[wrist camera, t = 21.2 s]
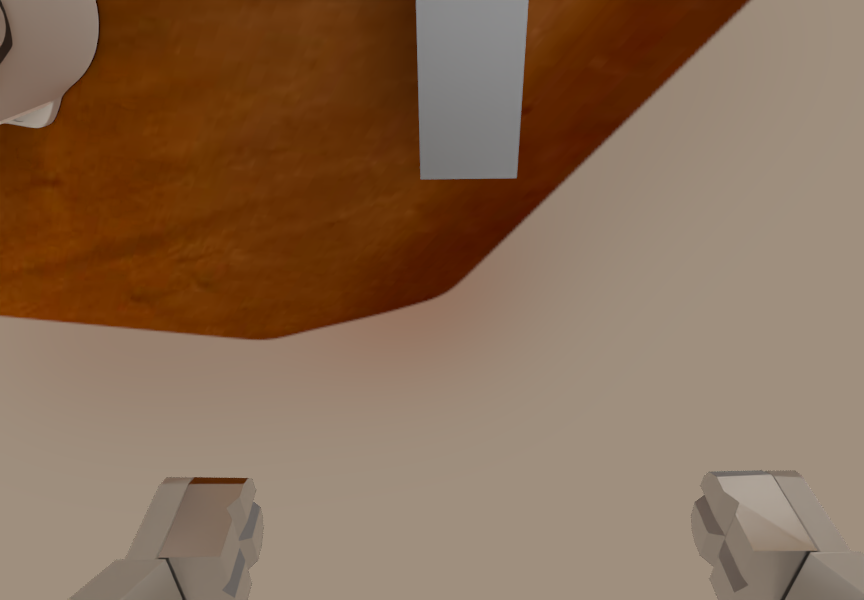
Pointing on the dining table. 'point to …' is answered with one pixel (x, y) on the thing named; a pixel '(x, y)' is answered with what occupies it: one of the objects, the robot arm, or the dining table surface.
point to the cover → (470, 87)
